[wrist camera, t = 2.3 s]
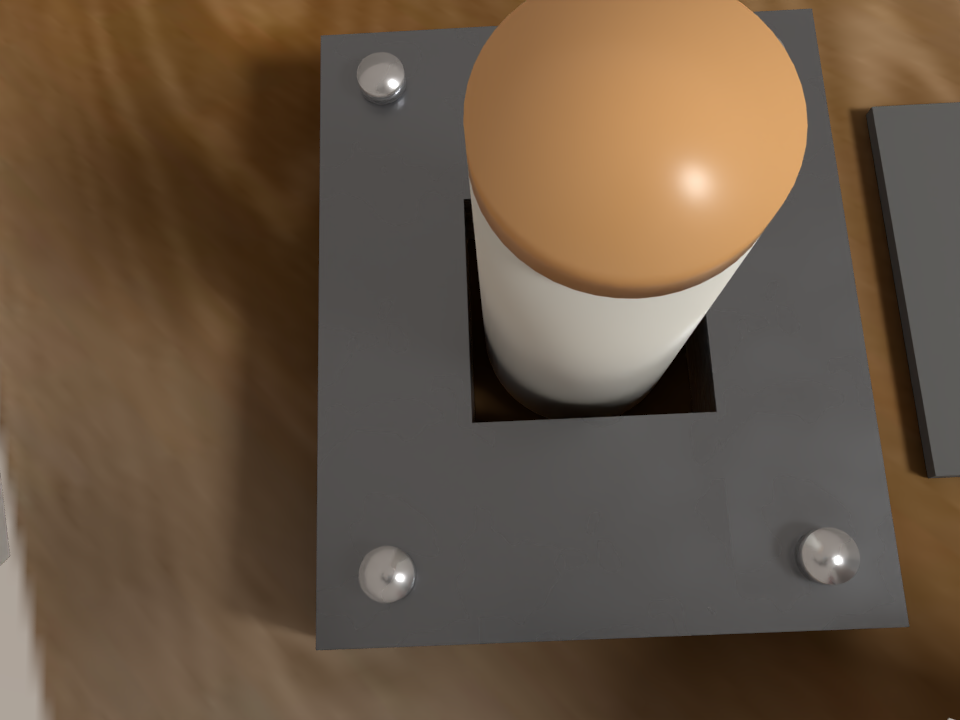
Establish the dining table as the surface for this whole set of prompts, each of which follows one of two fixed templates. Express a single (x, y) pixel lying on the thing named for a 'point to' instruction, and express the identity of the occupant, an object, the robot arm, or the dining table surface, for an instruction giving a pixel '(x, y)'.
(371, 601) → the plate
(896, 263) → the mat
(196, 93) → the dining table surface
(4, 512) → the robot arm
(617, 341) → the white capped post
